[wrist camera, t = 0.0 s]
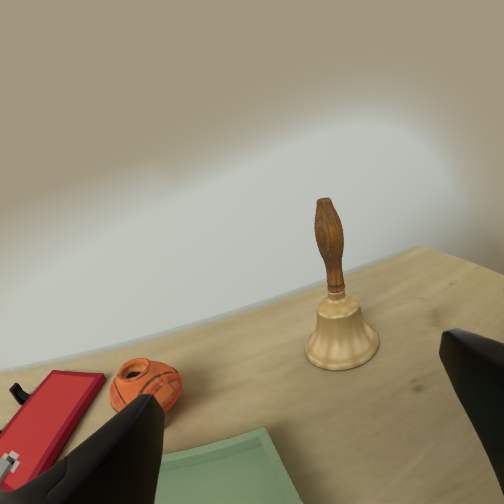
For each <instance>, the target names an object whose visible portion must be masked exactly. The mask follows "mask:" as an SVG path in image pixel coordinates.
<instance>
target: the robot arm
mask: <svg viewBox="0 0 504 504" xmlns="http://www.w3.org/2000/svg"><path fill="white" fill-rule="evenodd" d="M439 355H440V359H441V361H442V363H443V365H444V368H445V370H446V372H447V374H448V376H449V379H450V381H451V383H452V386H453V388H454V390H455V392H456V395H457V396H458V398H459V400H460V402H461V404H462V406H463V407H464V409H465V411H466V413H467V415H468V417H469V419H470V421H471V422H472V424H473V426H474V428H475V430H476V432H477V434H478V436H479V438H480V440H481V443H482V445H483V447H484V449H485V451H486V453H487V455H488V458H489V460H490V462H491V464H492V467H493V469H494V472H495V474H496V476H497V479H498V481H499V484H500V487H502V488H501V490H502V492H503V495H504V343H501V342H498V341H495V340H492V339H489V338H486V337H483V336H480V335H477V334H474V333H471V332H468V331H465V330H462V329H460V328H457V327H452V328H449V329H447V330H445V331H444V332H443V333H442V338H441V344H440V350H439ZM164 423H165V413H164V410H163V409H162V407H161V405H160V404H159V402H158V401H157V399H156V398H155V396H154V395H153V394H140V395H138V396H137V397H136V398H135V399H134V400H133V401H131V402H130V403H129V404H128V405H127V406H126V407H124V408H123V409H122V410H121V411H120V412H118V413H117V414H116V415H115V416H114V417H113V418H111V419H110V420H109V421H108V422H107V423H105V424H104V425H103V426H102V427H101V428H99V429H98V430H97V431H96V432H95V433H93V434H92V435H91V436H90V437H89V438H87V439H86V440H85V441H84V442H82V443H81V444H80V445H79V446H78V447H76V448H75V449H74V450H73V451H71V452H70V453H69V454H68V455H67V456H65V457H64V458H63V459H61V460H60V461H59V462H57V463H56V464H55V465H53V466H52V467H51V468H49V469H48V470H46V471H45V472H43V473H42V474H40V475H39V476H37V477H36V478H34V479H32V480H31V481H29V482H27V483H26V484H24V485H22V486H21V487H19V488H17V489H15V490H13V491H10V492H0V504H154V502H155V496H156V489H157V483H158V477H159V471H160V466H161V460H162V452H163V436H164Z"/></svg>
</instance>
